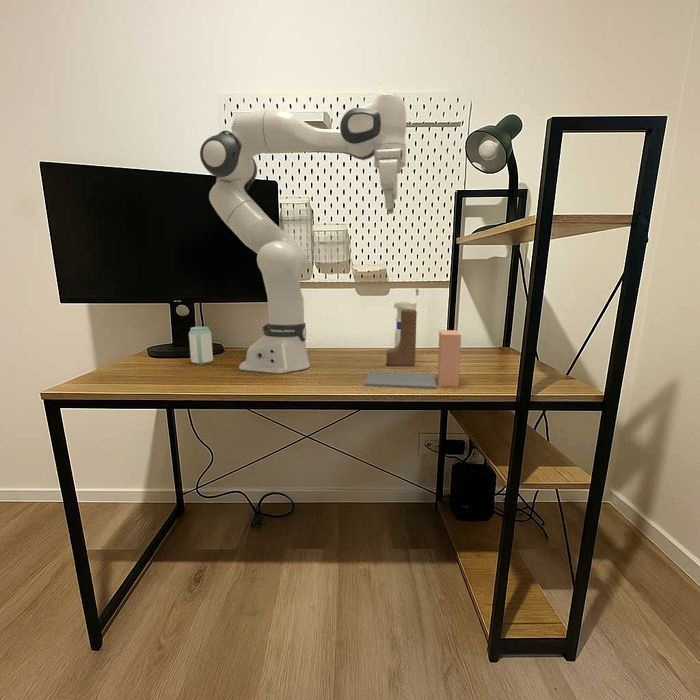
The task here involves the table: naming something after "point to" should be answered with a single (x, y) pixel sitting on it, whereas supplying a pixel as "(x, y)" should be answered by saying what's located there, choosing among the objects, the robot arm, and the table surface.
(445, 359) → the terracotta block
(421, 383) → the mat
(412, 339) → the wooden block
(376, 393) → the table surface
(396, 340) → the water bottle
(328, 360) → the table surface
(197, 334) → the can
